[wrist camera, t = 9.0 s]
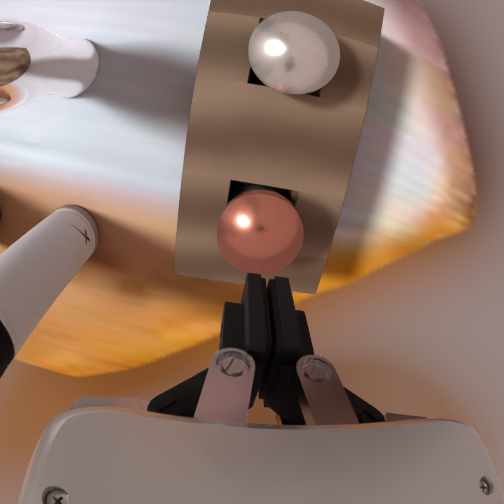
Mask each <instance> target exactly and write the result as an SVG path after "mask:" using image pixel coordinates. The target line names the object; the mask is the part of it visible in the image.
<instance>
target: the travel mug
mask: <svg viewBox="0 0 504 504" xmlns="http://www.w3.org/2000/svg"><path fill="white" fill-rule="evenodd" d="M98 242H99V234H98V229H97V226H96V223H95V221H94V220H93V218H92V217H91V216H90V214H89V213H88V212H86V211H85V210H84V209H82V208H80V207H78V206H75V205H65V206H62V207H60V208H59V209H57V210H56V211H55V212H53V213H52V214H51V215H49V216H48V217H47V218H45V219H44V220H43V221H41V222H40V223H39V224H37V225H36V226H35V227H33V228H32V229H31V230H30V231H28V232H27V233H26V234H25V235H23V236H22V237H21V238H20V239H18V240H17V241H16V242H15V243H13V244H12V245H11V246H10V247H9V248H7V249H6V250H5V251H4V252H3V253H2V254H0V378H1V376H2V375H3V373H4V371H5V370H6V368H7V366H8V365H9V364H10V362H11V361H12V360H13V359H14V357H15V356H16V354H17V352H18V351H19V350H20V348H21V347H22V345H23V344H24V342H25V341H26V340H27V338H28V337H29V335H30V334H31V332H32V331H33V330H34V328H35V327H36V325H37V324H38V323H39V321H40V320H41V318H42V317H43V316H44V314H45V313H46V312H47V310H48V309H49V308H50V306H51V305H52V304H53V302H54V301H55V300H56V298H57V297H58V296H59V294H60V293H61V292H62V291H63V289H64V288H65V287H66V285H67V284H68V283H69V282H70V280H71V279H72V278H73V277H74V275H75V274H76V273H77V272H78V271H79V269H80V268H81V267H82V266H83V265H84V263H85V262H86V261H87V260H88V259H89V257H90V256H91V255H92V254H93V253H94V251H95V250H96V248H97V246H98Z"/></svg>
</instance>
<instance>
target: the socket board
mask: <svg viewBox="0 0 504 504" xmlns="http://www.w3.org/2000/svg"><path fill="white" fill-rule="evenodd" d="M284 11H298V12H304V13H307V14H310V15H312V16H315V17H316V18H318V19H320V20H321V21H322V22H324V23H325V24H326V25H327V26H328V27H329V28H330V29H331V31H332V32H333V33H334V35H335V37H336V39H337V41H338V44H339V49H340V62H339V66H338V69H337V71H336V73H335V75H334V76H333V78H332V79H331V80H330V81H329V82H328V83H327V84H326V85H325V86H323V87H322V88H320V89H318V90H316V91H313V92H310V93H306V94H285V93H281V92H278V91H275V90H273V89H271V88H269V87H267V86H261V85H255V84H249V83H248V82H249V76H250V71H251V65H250V62H249V53H248V47H249V41H250V38H251V35H252V33H253V31H254V30H255V28H256V27H257V26H258V25H259V24H260V23H261V22H262V21H263V20H264V19H266V18H267V17H269V16H271V15H273V14H276V13H279V12H284ZM383 15H384V8H382V7H379V6H377V5H374V4H371V3H368V2H365V1H363V0H211V3H210V7H209V12H208V16H207V21H206V26H205V31H204V36H203V41H202V46H201V51H200V56H199V62H198V67H197V73H196V79H195V85H194V91H193V97H192V104H191V110H190V117H189V124H188V131H187V139H186V146H185V154H184V163H183V171H182V180H181V190H180V200H179V211H178V222H177V234H176V248H175V263H174V274H176V275H182V276H189V277H195V278H202V279H208V280H215V281H222V282H228V283H235V284H242V285H245V280H246V275H247V273H246V272H243V271H241V270H239V269H237V268H235V267H234V266H232V265H231V264H230V263H229V262H228V261H227V260H226V259H225V258H224V256H223V255H222V253H221V251H220V249H219V246H218V242H217V228H218V224H219V219H220V216H221V214H222V212H223V210H224V208H225V207H226V206H227V204H228V199H229V193H230V186H231V180H236V181H242V182H248V183H254V184H260V185H266V186H272V187H278V188H283V189H286V191H285V195H284V197H285V198H287V199H288V200H289V201H290V202H291V203H292V204H293V206H294V207H295V208H296V210H297V212H298V214H299V217H300V219H301V222H302V225H303V230H304V239H303V244H302V247H301V249H300V251H299V253H298V255H297V256H296V258H295V259H294V260H293V261H292V262H291V263H290V264H289V265H287V266H286V267H284V268H283V269H281V270H279V271H276V272H273V273H269V274H261V278H265V279H266V286H267V285H268V281H269V279H274V277H275V276H278V277H286V278H289V282H290V287H291V291H294V292H301V293H309V294H316V291H317V288H318V285H319V282H320V278H321V275H322V272H323V269H324V266H325V263H326V259H327V256H328V253H329V250H330V246H331V243H332V240H333V236H334V233H335V229H336V226H337V223H338V219H339V216H340V212H341V208H342V205H343V201H344V198H345V194H346V190H347V186H348V183H349V179H350V175H351V171H352V167H353V163H354V159H355V155H356V151H357V147H358V143H359V139H360V134H361V130H362V126H363V121H364V117H365V112H366V108H367V103H368V98H369V94H370V89H371V84H372V79H373V74H374V68H375V63H376V57H377V52H378V46H379V40H380V34H381V28H382V22H383Z"/></svg>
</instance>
